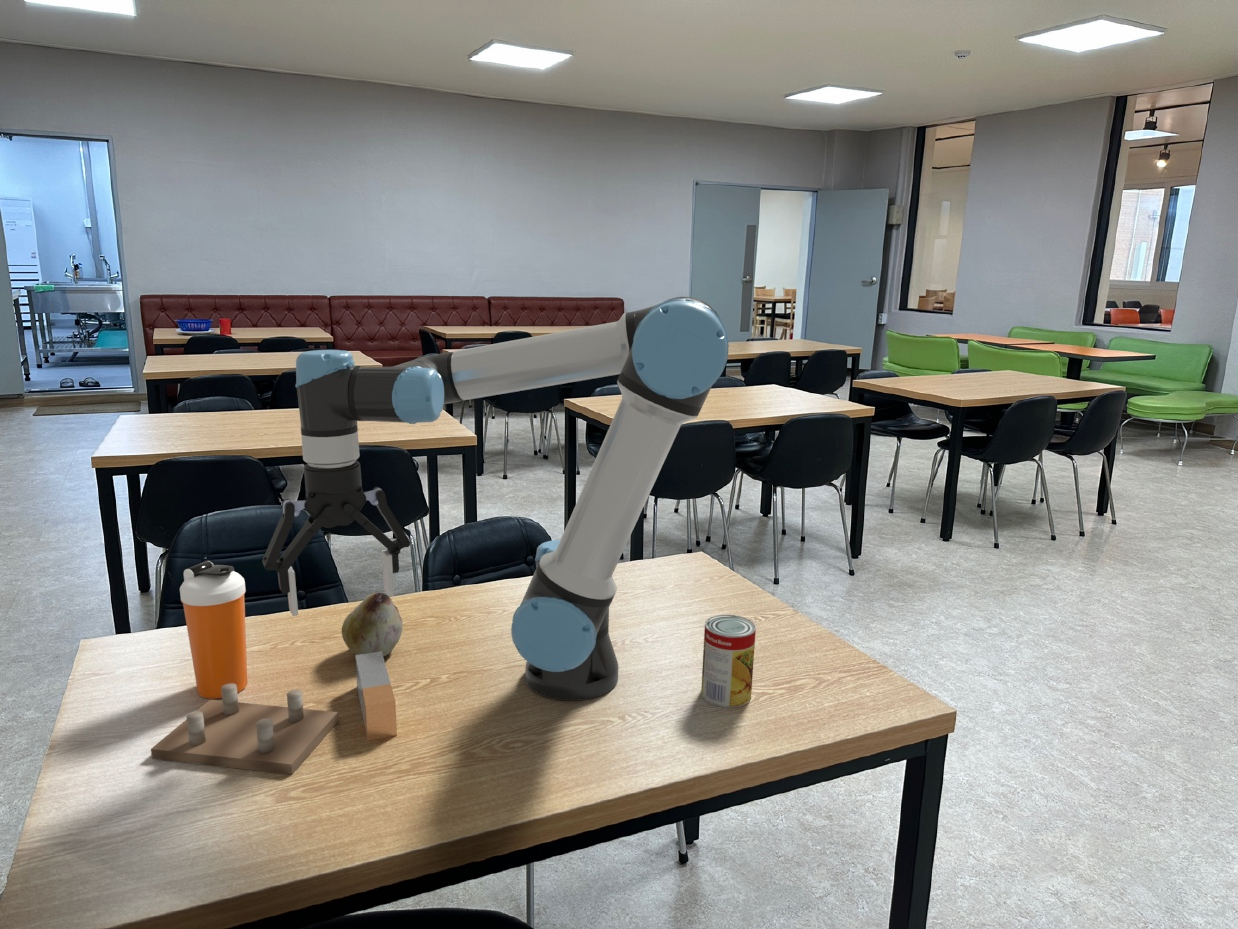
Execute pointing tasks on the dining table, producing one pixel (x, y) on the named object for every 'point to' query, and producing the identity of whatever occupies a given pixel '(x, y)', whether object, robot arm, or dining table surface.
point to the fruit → (373, 626)
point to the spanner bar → (375, 696)
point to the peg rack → (247, 734)
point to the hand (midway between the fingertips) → (342, 603)
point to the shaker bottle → (215, 626)
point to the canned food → (728, 660)
